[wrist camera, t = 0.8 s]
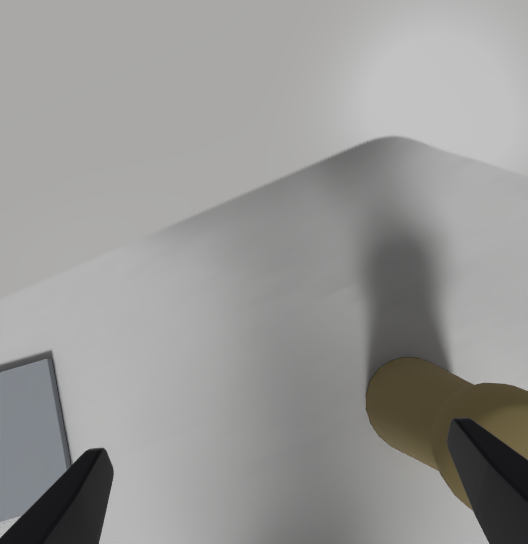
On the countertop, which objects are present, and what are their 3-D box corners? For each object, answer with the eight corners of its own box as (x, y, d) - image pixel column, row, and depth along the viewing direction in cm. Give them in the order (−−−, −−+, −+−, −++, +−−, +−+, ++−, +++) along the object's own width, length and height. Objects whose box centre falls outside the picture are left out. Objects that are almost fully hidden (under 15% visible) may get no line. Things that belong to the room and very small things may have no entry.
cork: (349, 421, 23) (419, 502, 12) (390, 340, 24) (490, 347, 13) (434, 471, 22) (585, 603, 12) (473, 386, 23) (649, 434, 12)
